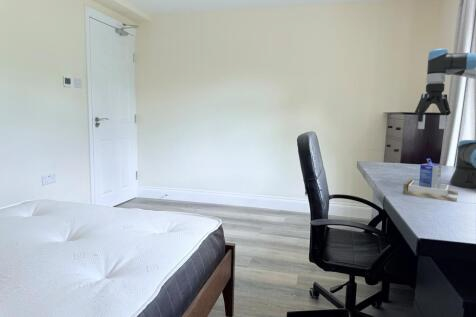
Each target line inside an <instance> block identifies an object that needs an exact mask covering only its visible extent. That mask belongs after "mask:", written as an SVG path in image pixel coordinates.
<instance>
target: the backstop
mask: <svg viewBox="0 0 476 317" xmlns="http://www.w3.org/2000/svg"><path fill="white" fill-rule="evenodd" d="M412 181H413V179H412V178H408V180H406V181H405V182H404V183H403V188H402V191H403V192H402V195H409V196H414V197H415V196H416V197H421V198H429V199H436V200H442V201H450V202H458V197H455V196H448V195H456V196H458V195H459V190H452V189H448V195H447V196H441V195H434V194H427V193H420V192H412V191H408V185H409V184H410V183H411V182H412Z"/></svg>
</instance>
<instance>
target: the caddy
mask: <svg viewBox="0 0 476 317" xmlns="http://www.w3.org/2000/svg"><path fill="white" fill-rule="evenodd" d="M449 187H450V184H445V183H444V184H443V183H440V189H437V188H429V187H421V186H419V180H412V182H411V183H410V184H409V185H408V191H412V192H420V193H427V194H434V195H441V196H448V195H449V194H448V190H449Z"/></svg>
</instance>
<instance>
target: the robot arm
mask: <svg viewBox="0 0 476 317" xmlns="http://www.w3.org/2000/svg"><path fill="white" fill-rule="evenodd" d="M427 57H428V58H427V70H426V72H427V73H426V78H425V79H426V81H425V83H426V85H425V93H421V96H420V100H419V102H418V104H417V106H416V108H415V110H414V114H416V115H417V116H418V118H417V122H418V125H417V129H419V130H425V122H426V114H425V113H426V112H427V111H428V109H429V108H430V107H431V105H433V104H434V105H436V107H437V109H438V110H439V113H440V115H439V125H438V129H439V130H445V129H446V123H447V116H449V115H450V114H451V113H452V112H451V108H450V104H449V101H448V94H446V93H445V94H443V92H445V82H446V76H451V75H454V76H458V77H464V78H470V79H473V80H476V52H461V53H459V52H457V53H456V52H455V53H450V52H448V49H447V48H436V49H435V48H434V49H431V50H430V51H429V52H428V56H427ZM456 154H457V155H456V162H455V170H454V172H453V174H452V176H451V178H450V179H449V185H452V186H456V187H461V188H468V189H476V139H463V140H460V141H459V142H458V145H457V153H456Z"/></svg>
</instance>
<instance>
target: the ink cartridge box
mask: <svg viewBox="0 0 476 317" xmlns="http://www.w3.org/2000/svg"><path fill="white" fill-rule="evenodd" d="M426 161H427V162H426V163H422V164H420V168H419V180H418V181H419V186H421V187H429V188H437V189H440V184H441V176H442V164H441V163H434V162H432V160H431V158H426Z"/></svg>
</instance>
